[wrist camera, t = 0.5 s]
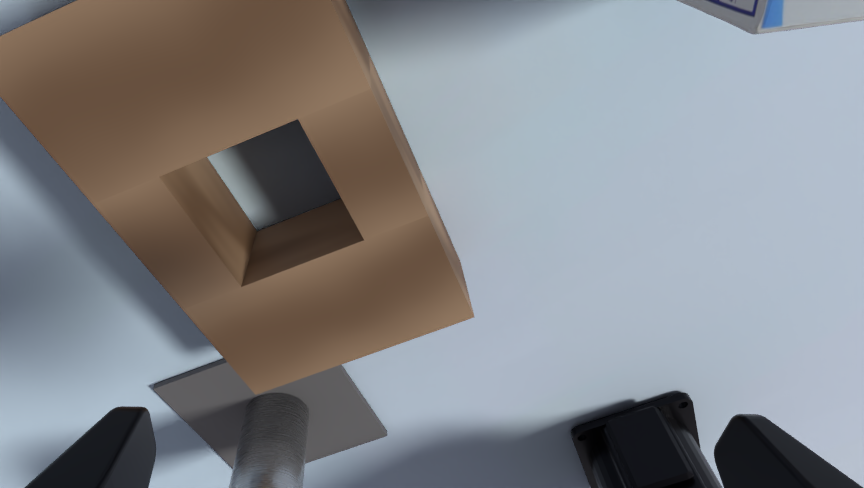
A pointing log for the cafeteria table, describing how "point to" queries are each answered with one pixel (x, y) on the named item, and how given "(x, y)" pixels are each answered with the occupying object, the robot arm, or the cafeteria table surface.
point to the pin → (272, 443)
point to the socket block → (207, 193)
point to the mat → (229, 395)
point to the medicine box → (780, 13)
